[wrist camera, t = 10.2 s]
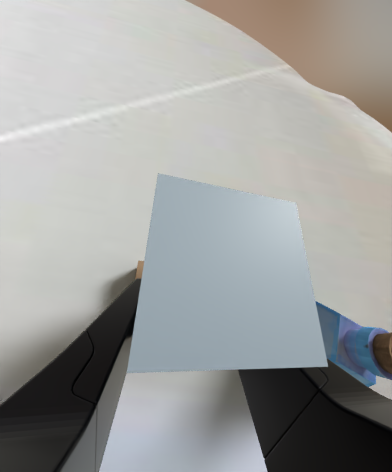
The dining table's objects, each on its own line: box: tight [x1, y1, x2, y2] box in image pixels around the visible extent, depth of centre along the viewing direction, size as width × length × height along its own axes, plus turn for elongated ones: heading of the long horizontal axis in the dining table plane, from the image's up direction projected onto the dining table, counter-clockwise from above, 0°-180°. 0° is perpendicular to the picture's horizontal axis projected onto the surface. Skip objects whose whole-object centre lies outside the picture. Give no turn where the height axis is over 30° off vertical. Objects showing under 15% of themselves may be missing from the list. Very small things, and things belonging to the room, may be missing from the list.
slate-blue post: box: [127, 173, 328, 373], centre depth 10 cm, size 4×4×12 cm
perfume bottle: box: [315, 301, 392, 387], centre depth 18 cm, size 6×6×12 cm
